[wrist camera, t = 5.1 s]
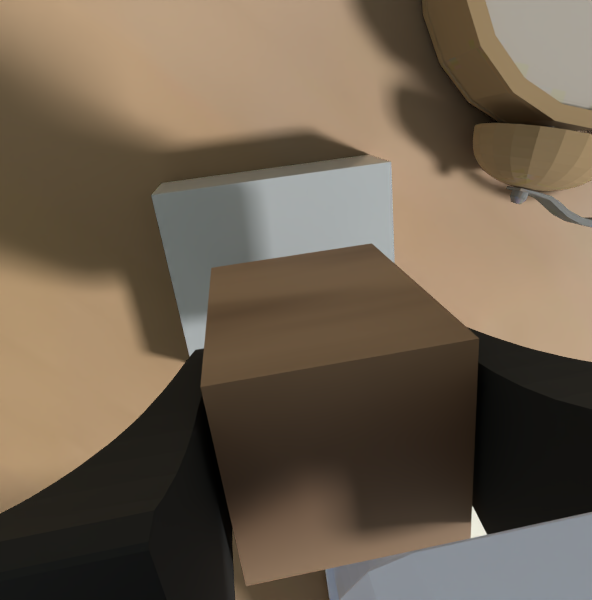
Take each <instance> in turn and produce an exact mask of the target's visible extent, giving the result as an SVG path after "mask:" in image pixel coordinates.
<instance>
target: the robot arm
mask: <svg viewBox="0 0 592 600" xmlns="http://www.w3.org/2000/svg"><path fill="white" fill-rule="evenodd" d="M467 328H468V327H467ZM468 329H469V330H470V331H471V332H472V333H474V334H475V335H476V336H477V337H478V338H479V355H478V378H477V402H476V425H475V448H474V472H473V495H472V506H473V508H474V510H475V512H476V514H477V516H478V518H479V520H480V522H481V524H482V526H483V528H484V530H485V531H486V534H487V535H483V536H479V537H474V538H470V539H465V540H460V541H456V542H451V543H447V544H442V545H438V546H433V547H428V548H424V549H419V550H414V551H410V552H405V553H400V554H396V555H391V556H386V557H382V558H377V559H372V560H368V561H363V562H358V563H353V564H349V565H344V566H339V567H335V568H330V569H325V573H326V580H327V587H328V594H329V600H592V362H588V361H582V360H577V359H572V358H567V357H562V356H558V355H554V354H550V353H546V352H542V351H537V350H534V349H530V348H526V347H523V346H520V345H516V344H513V343H510V342H507V341H504V340H501V339H498V338H495V337H492V336H489V335H486V334H484V333H481V332H478V331H475V330H473V329H470V328H468ZM203 353H204V348H203V349H197V350H195V351H194V352H193V353H192V355H191V356H190V357H189V359H188V360H187V361H186V362H185V364H184V365H183V366H182V368H181V369H180V370H179V372H178V373H177V374H176V376H175V377H174V378H173V380H172V381H171V382H170V383H169V385H168V386H167V387H166V388H165V389H164V391H163V392H162V393H161V394H160V395H159V396H158V397H157V398H156V400H155V401H154V402H153V403H152V404H151V405H150V406H149V407H148V408H147V409H146V411H145V412H144V413H143V414H142V415H141V416H140V417H139V418H138V419H137V420H136V421H135V422H134V423H132V424H131V425H130V426H129V427H128V428H127V429H126V430H125V431H124V432H122V433H121V434H120V435H119V436H118V437H117V438H116V439H114V440H113V441H112V442H111V443H110V444H108V445H107V446H106V447H104V448H103V449H102V450H100V451H99V452H98V453H96V454H95V455H94V456H92V457H91V458H90V459H88V460H87V461H86V462H84V463H83V464H82V465H80V466H79V467H78V468H76V469H75V470H73V471H72V472H70V473H69V474H67V475H66V476H64V477H63V478H61V479H60V480H58V481H57V482H55V483H53V484H52V485H50V486H49V487H47V488H45V489H44V490H42V491H40V492H39V493H37V494H35V495H34V496H32V497H30V498H29V499H27V500H25V501H23V502H22V503H20V504H18V505H16V506H14V507H12V508H10V509H8V510H7V511H5V512H3V513H1V514H0V600H235V590H234V570H233V549H232V523H231V519H230V514H229V510H228V505H227V501H226V497H225V492H224V488H223V484H222V479H221V475H220V470H219V466H218V462H217V457H216V453H215V449H214V444H213V440H212V435H211V431H210V427H209V422H208V418H207V414H206V409H205V405H204V400H203V396H202V392H201V387H200V386H201V375H202V364H203Z"/></svg>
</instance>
